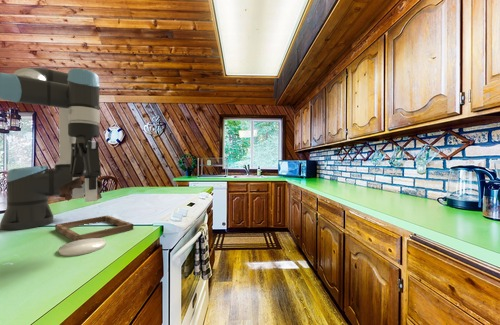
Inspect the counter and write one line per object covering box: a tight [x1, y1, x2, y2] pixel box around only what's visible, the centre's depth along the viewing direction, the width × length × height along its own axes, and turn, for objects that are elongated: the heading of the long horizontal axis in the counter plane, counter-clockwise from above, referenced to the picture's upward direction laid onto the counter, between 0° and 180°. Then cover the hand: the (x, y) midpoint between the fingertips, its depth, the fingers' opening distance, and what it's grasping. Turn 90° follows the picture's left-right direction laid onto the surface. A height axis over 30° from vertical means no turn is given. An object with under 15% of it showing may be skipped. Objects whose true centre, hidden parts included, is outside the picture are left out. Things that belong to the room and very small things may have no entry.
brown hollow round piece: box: [58, 176, 103, 202], centre depth 67 cm, size 12×10×8 cm
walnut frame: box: [54, 215, 134, 242], centre depth 83 cm, size 22×17×2 cm
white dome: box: [58, 237, 107, 257], centre depth 66 cm, size 11×11×1 cm
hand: (84, 199), depth 66 cm, fingers closed on brown hollow round piece, 9 cm apart
